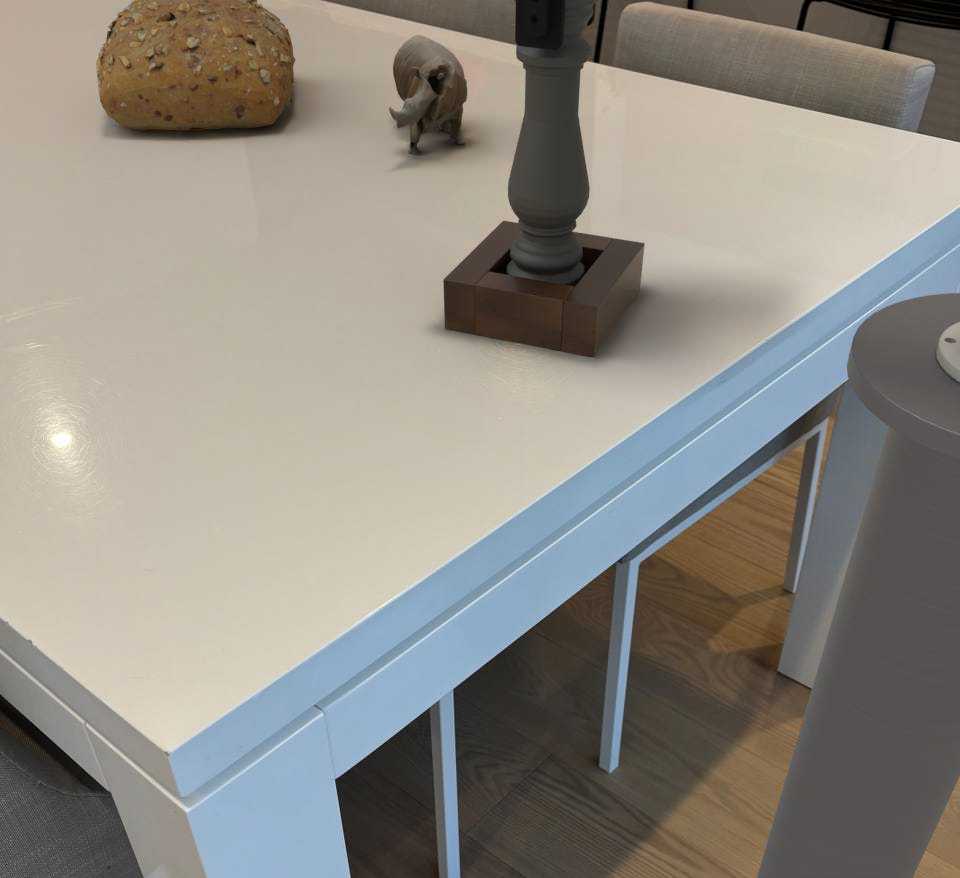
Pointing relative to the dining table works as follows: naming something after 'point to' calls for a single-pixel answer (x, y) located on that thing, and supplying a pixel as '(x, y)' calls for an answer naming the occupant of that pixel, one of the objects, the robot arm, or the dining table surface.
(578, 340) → the square frame
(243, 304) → the dining table surface
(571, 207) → the candle holder
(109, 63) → the bread
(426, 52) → the rhinoceros figurine
